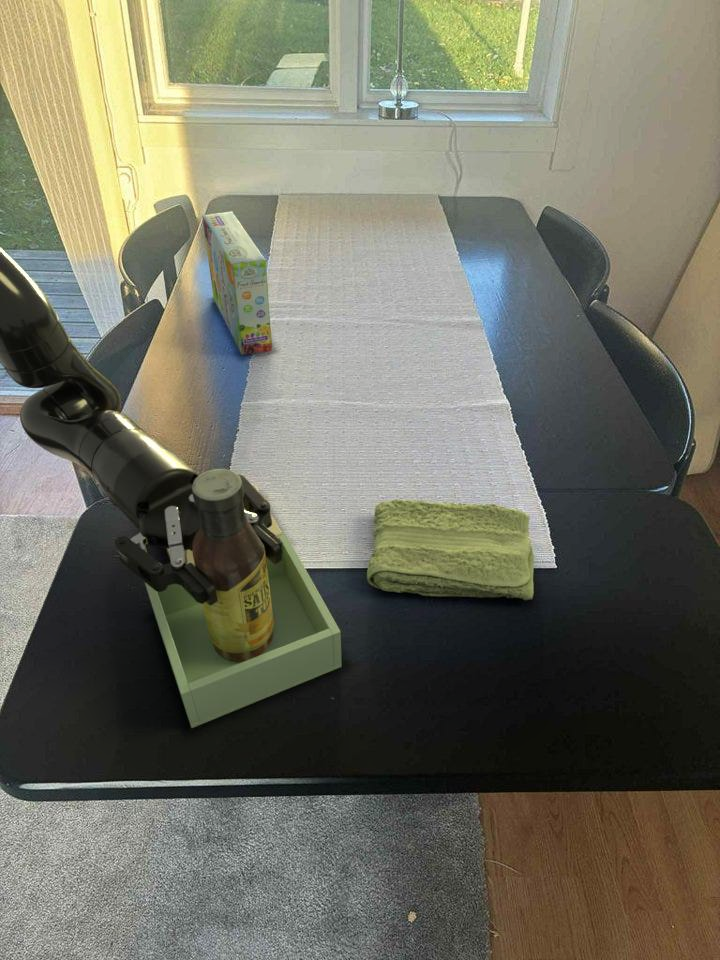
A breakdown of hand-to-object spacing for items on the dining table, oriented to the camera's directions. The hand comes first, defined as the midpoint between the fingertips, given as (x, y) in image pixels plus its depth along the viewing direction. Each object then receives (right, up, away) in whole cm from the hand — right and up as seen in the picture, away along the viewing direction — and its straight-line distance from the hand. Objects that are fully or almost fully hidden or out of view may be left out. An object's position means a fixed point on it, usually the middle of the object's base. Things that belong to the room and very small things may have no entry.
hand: (246, 575), depth 60 cm
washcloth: (+20, 0, +17) cm, 26 cm away
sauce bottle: (-2, -7, +9) cm, 11 cm away
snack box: (-10, +34, +57) cm, 67 cm away
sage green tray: (-2, -8, +9) cm, 12 cm away
